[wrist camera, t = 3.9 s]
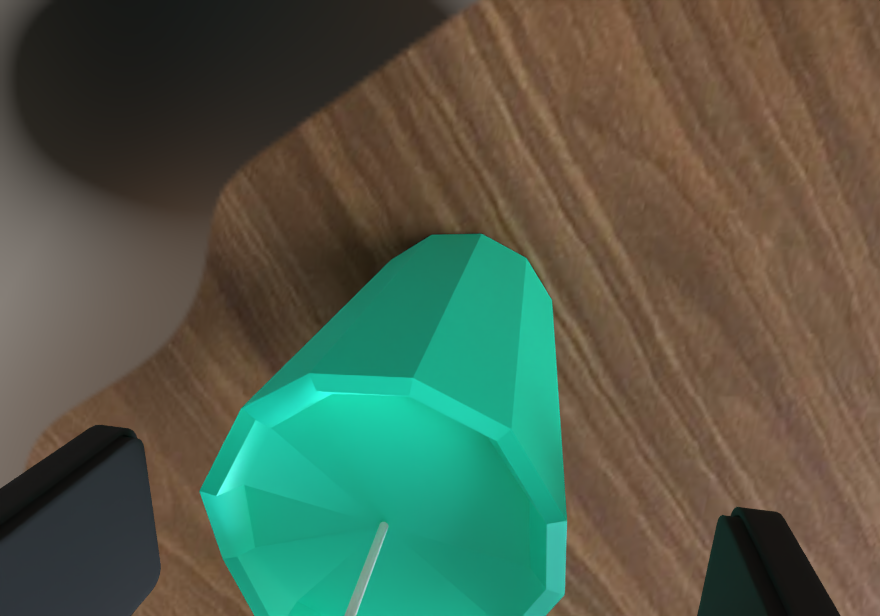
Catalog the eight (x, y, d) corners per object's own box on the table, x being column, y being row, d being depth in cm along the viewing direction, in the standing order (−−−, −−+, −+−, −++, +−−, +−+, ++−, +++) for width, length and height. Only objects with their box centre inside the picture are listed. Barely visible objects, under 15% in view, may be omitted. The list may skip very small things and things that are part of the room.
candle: (526, 207, 18) (502, 371, 6) (575, 386, 19) (627, 774, 8) (344, 260, 19) (63, 471, 8) (403, 422, 21) (240, 796, 9)
